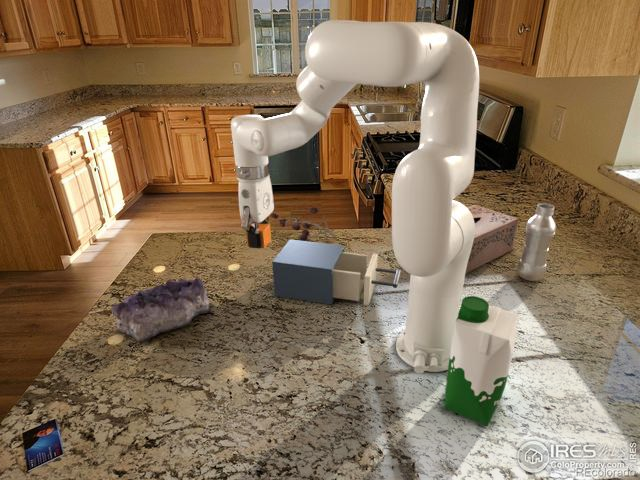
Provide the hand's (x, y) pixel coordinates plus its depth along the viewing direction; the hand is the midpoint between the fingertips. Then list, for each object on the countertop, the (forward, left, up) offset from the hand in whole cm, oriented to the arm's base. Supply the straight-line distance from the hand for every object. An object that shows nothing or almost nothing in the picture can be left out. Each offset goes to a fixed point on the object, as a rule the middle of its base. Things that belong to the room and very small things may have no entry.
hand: (259, 242), depth 105 cm
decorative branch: (+32, -1, -12) cm, 34 cm away
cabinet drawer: (+1, -25, -11) cm, 27 cm away
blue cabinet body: (+1, -13, -12) cm, 17 cm away
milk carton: (-28, -51, -12) cm, 59 cm away
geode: (-21, +14, -12) cm, 28 cm away
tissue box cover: (+30, -51, -12) cm, 60 cm away
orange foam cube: (0, 0, 0) cm, 0 cm away
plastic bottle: (+20, -67, -12) cm, 70 cm away
